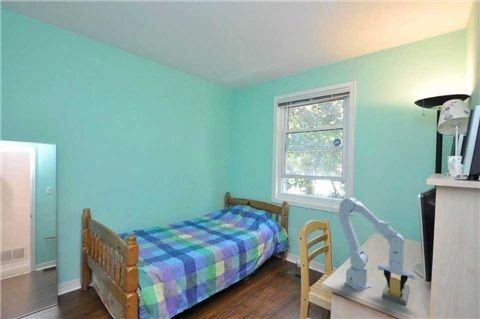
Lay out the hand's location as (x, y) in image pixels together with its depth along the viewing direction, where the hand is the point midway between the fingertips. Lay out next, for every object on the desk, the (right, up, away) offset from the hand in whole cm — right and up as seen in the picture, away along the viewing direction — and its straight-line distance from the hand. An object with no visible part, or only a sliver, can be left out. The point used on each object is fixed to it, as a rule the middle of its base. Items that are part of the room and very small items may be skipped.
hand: (395, 289), depth 108 cm
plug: (0, -3, 0) cm, 3 cm away
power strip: (+3, -4, +3) cm, 6 cm away
